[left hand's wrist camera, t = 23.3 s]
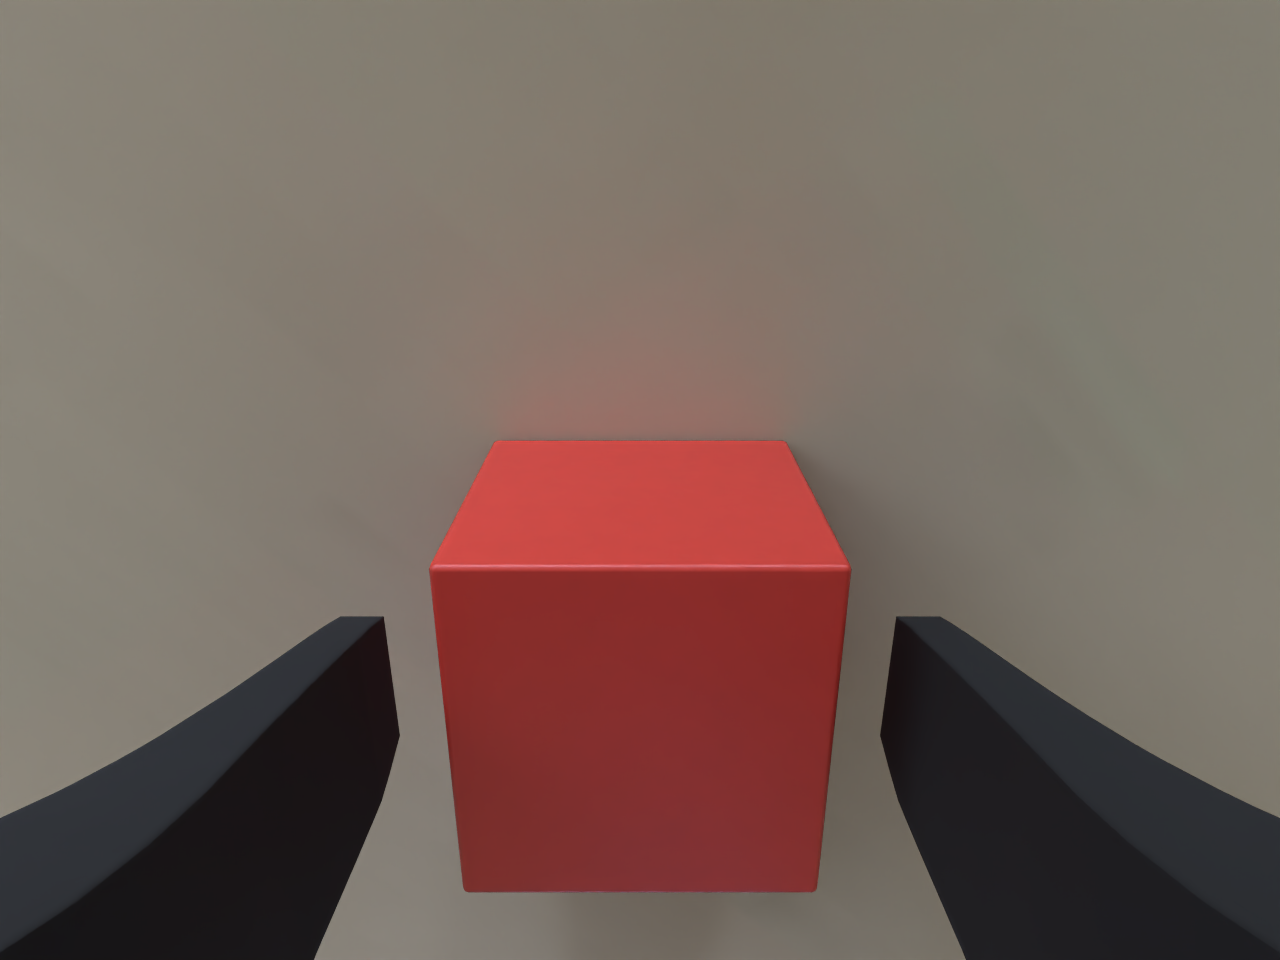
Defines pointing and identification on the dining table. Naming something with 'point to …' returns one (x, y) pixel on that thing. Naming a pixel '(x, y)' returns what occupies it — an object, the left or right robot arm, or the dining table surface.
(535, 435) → the dining table surface
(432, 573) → the block
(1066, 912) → the left robot arm
